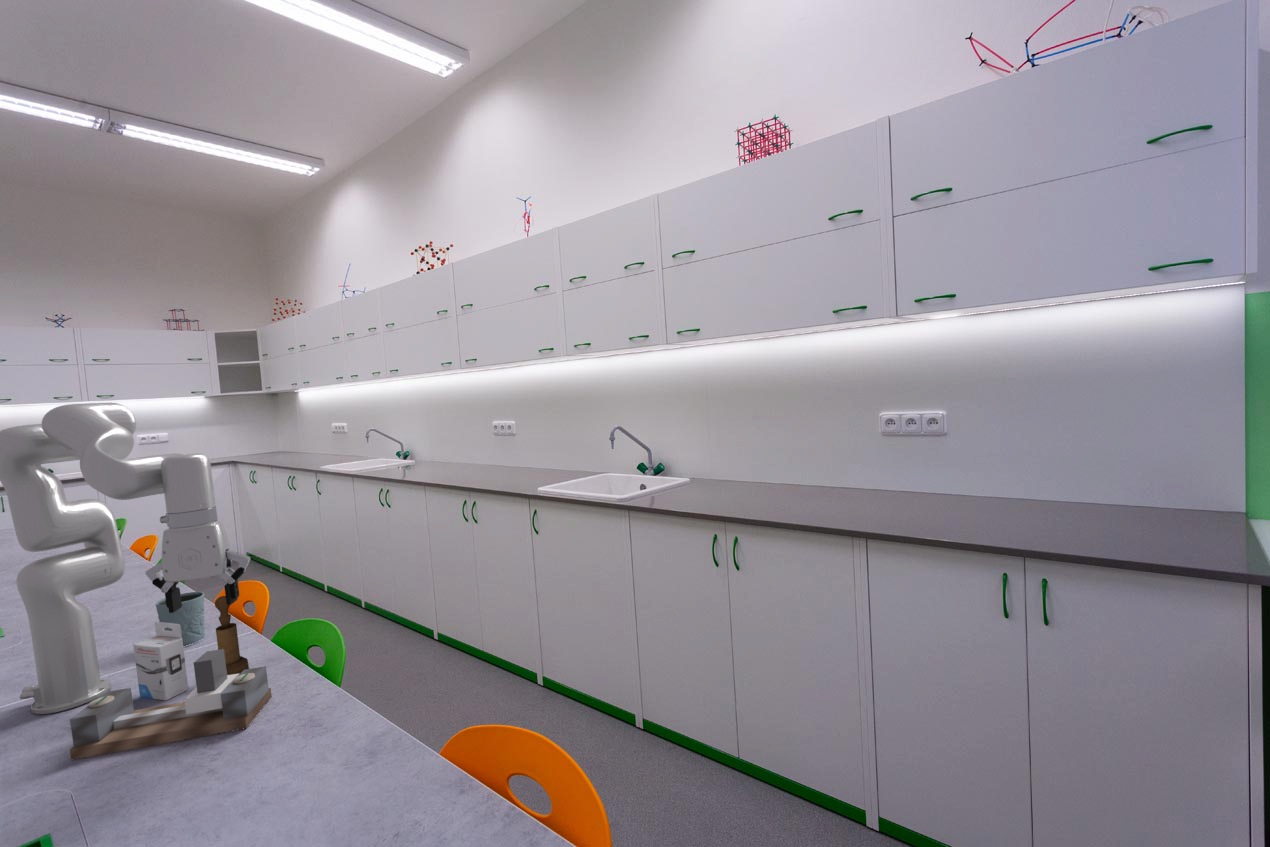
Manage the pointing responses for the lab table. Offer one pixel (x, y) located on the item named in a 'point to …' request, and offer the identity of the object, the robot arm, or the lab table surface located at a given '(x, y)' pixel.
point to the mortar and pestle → (229, 640)
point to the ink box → (161, 663)
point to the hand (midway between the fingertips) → (204, 606)
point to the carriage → (209, 682)
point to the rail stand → (164, 718)
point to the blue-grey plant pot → (185, 616)
